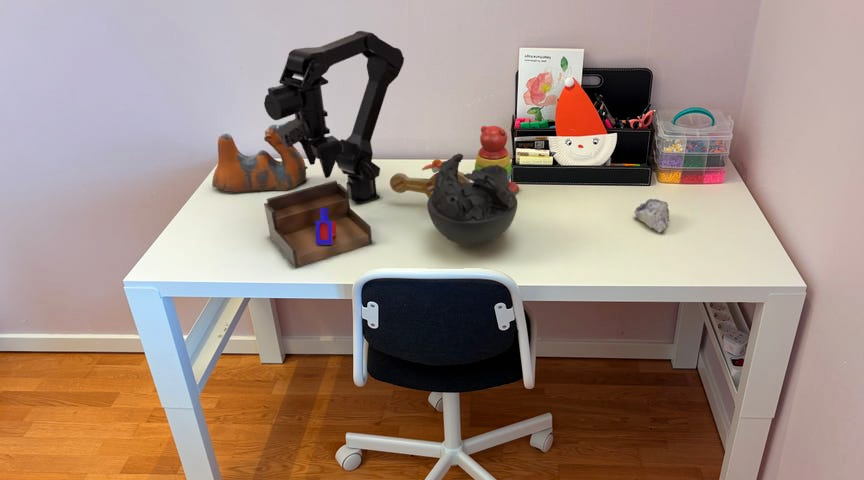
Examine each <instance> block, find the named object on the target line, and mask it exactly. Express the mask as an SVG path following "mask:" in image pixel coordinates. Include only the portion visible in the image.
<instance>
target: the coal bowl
mask: <svg viewBox="0 0 864 480" xmlns="http://www.w3.org/2000/svg"><path fill="white" fill-rule="evenodd" d="M463 158H464V155H463V154H462V153H457V154H454V155H453V156H452V157H450V158H448V159H447V160H444V161H445V162H443V161H442V162H443V163H442V164H441V166H440V169H441V171H440V172H439V171H438V172H439V173H438V172H437V173H438V174H437V176H436V178H435V183H434V190H433V193H432V195H431V196H430V198H428V199H427V202H426V203H427V211H428V215H429V218H430V220H431V222H432V224H433V226H434V228H435V229H436V230H437V231H438V232H439V234H441V236H442V237H444V238H446V239H447V240H448V241H450V242H452V243H455V244H457V245H460V246H463V247H480V246H485V245H488V244H490V243H493V242H494V241H497V240H498V239H500V238H501V237H502V236H503V235H504V234H505V233H506V232H507V231H508V229H509V228H510V227H511V225H512V224H513V222H514V220H515V217H516V214H517V211H518V199H517V198H518V197H517V196H516V194H514V192H513V191H511V190H510V189H509V188H508V181H507V169H505V168H504V167H501V166H498V165H495V166H494V165H491V166H486V167H482V169H481V170H475V169H472V170H471V171H472V172H471V173H470V172H467V173H463V174H464V176H465V177H466V178H468V179H469V180H470V182H469V183H460V182H459V181H458V171H459V166H460V163H461V162H462V160H464V159H463Z"/></svg>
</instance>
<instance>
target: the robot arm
mask: <svg viewBox="0 0 864 480" xmlns="http://www.w3.org/2000/svg"><path fill="white" fill-rule="evenodd" d="M360 54H361V55H362V56H363V57H365V58H366V59H367V62H366V71H367V76H368V80H367V83H366V87H365V90H364V92H363V96H362V99H361V103H360V106H359V109H358V112H357V115H356V119H355V121H354V125H353V128H352V131H351V134H350V135H349V136H348V137H347V139H343V138H341V139H340V140H339V139H338V137H337V138H336V137H335V136H334V135H329V134H330V133H331V131H330V130H331V129H330V128H328V127H327V122H326V117H329V115H328V111H327V110H325V106H324V98H323V92H322V86H325V85H327V84H329V80H328V79H326V78H325V77H324V75H325V74H327V72H328V71H329V69H330V68H331V67H332V66H334V65H336V64H339V63H341V62H344V61H346V60H348V59H351V58H353V57H356V56H358V55H360ZM404 62H405V57H404V55H403V52H402V50H401V49H400V48H398V47H394V46H392V45H391V44H389V43H387V42H386V41H384V40H382V39H381V38H379V37H378V36H377V35H376V34H375V33H373V32H370V31H365V30H358V31H356V32H354V33H353V34H350V35H347V36H345V37H342V38H340V39H336V40H334V41H331V42H329V43H327V44H326V43H325V44H324V45H321V46H317V47H314V46H313V47H300V48H294V49H292V50H290V51H289V52H288V56H287V59H286V62H285V65H284V67H283V70H282V74H281V76H280V79H279V80H278V83H279V84H280V85H277V86H272V87H268V88H267V94H266V95H265V97H264V102H263V105H264V109H265V112H266V113H267V115H268V117H269V118H271V119H272V120H274V121H280V120H283V119H285V118H288V117H291V116H293V115H294V119H291V120H288V121H289V122H288V121H287V122H288V123H286V124H284V125H283V126H281V127H279V128H278V129H277V130H276V131H275V132H276V134H277V136H278V137H279V139H280V141H281V142H282V144H284V145H285V146H286V147H291V146H294V145H296V144H297V143H300V145H301V148H302V149H303V151H304V154H305V156H306V158H307V161H308V163H309V165H310V166H313V165H315V164H316V160H317V159H318V160H319V163H320V166H321V170H322V173H323V176H324V178H325V179H328V178H330V177H331V175H332V172H333V170H334V166H335V164H336V165H337V167H338V168H339V169H340V171H341V172H342V174H343V175H347V176H346V177H347V181H346V182H345V184H346V190H347V191H348V195H349V200H351V201H353V202H354V203H355V204H356V205H361V204H364V203H367V202H371V201H375V200H378V199H380V197H381V196H380V195H379V194H378V192H377V183H376V179H377V178H378V177H380V172H381V167H379V165H377V164H376V163H374V162H372V160H373V156H374V155H373V148H372V143H371V142H372V138H373V135H374V132H375V130H376V129H375V128H376V125H377V122H378V119H379V116H380V113H381V110H382V106H383V103H384V101H385V98H386V94H387V92H388V88H389V86H390V84H391V83H393V82H394V81H395V80H396V79H397V78H398V77H399V74H400V72H401V70H402V68H403V66H404ZM294 76H295V77H294ZM300 78H302V79H300ZM326 135H328V136H326Z"/></svg>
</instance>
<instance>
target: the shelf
mask: <svg viewBox="0 0 864 480" xmlns="http://www.w3.org/2000/svg"><path fill="white" fill-rule="evenodd" d="M263 205H264V206H263V207H264V211H265V217H266V222H267V227H268V233H269V237H270V239H271V241H272V242H273V243H274V244H275V245H276V247H277V248H278V249H279V251H280V252H282V254H283V255H284V256H285V258H287V260H288V261H289V262H290V263H291V264H292V266H293V267H294V268H295V269H297V268H299V267H303V266H306V265H309V264H312V263H316V262H319V261H321V260H325V259H328V258H331V257H334V256H338V255H341V254H344V253H347V252H350V251H354V250H357V249H360V248H362V247H366V246H369V245H372V244H373V237H372V228H371V225H370V224H369V223H367V221H365V220H364V219H363V218H362V217H361V216H360V215H359V214H357V213H356V212H355V211H354V210H353V209H352V208H351V203H350V198H349V195H348V191H347V188H345V186H343V185H342V184H341V183H338V181H337V180H331V181H329V182H324V183H321V184H317V185H313V186H309V187H306V188H302V189H298V190H295V191H291V192H287V193H284V194H279V195H276V196H272V197H268V198H266V202H265V203H263ZM321 208H328V221H336V236H334V237H333V245H316V221H321Z"/></svg>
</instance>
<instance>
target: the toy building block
mask: <svg viewBox="0 0 864 480" xmlns="http://www.w3.org/2000/svg"><path fill="white" fill-rule="evenodd" d="M334 236H336V221H328V208H321V221H316V245H333V237H334Z"/></svg>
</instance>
